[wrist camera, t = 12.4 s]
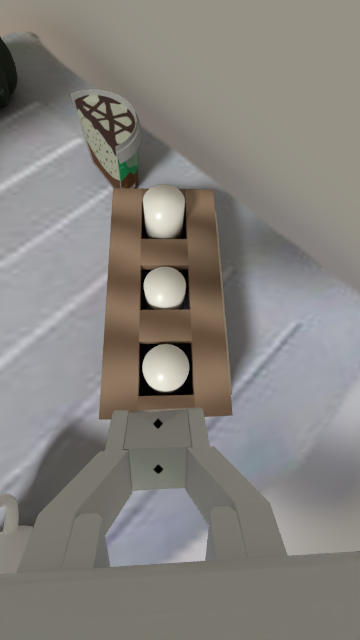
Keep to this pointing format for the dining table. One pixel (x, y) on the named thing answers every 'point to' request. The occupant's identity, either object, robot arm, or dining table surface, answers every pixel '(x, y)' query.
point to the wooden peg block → (164, 325)
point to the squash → (6, 74)
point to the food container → (110, 135)
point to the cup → (12, 536)
